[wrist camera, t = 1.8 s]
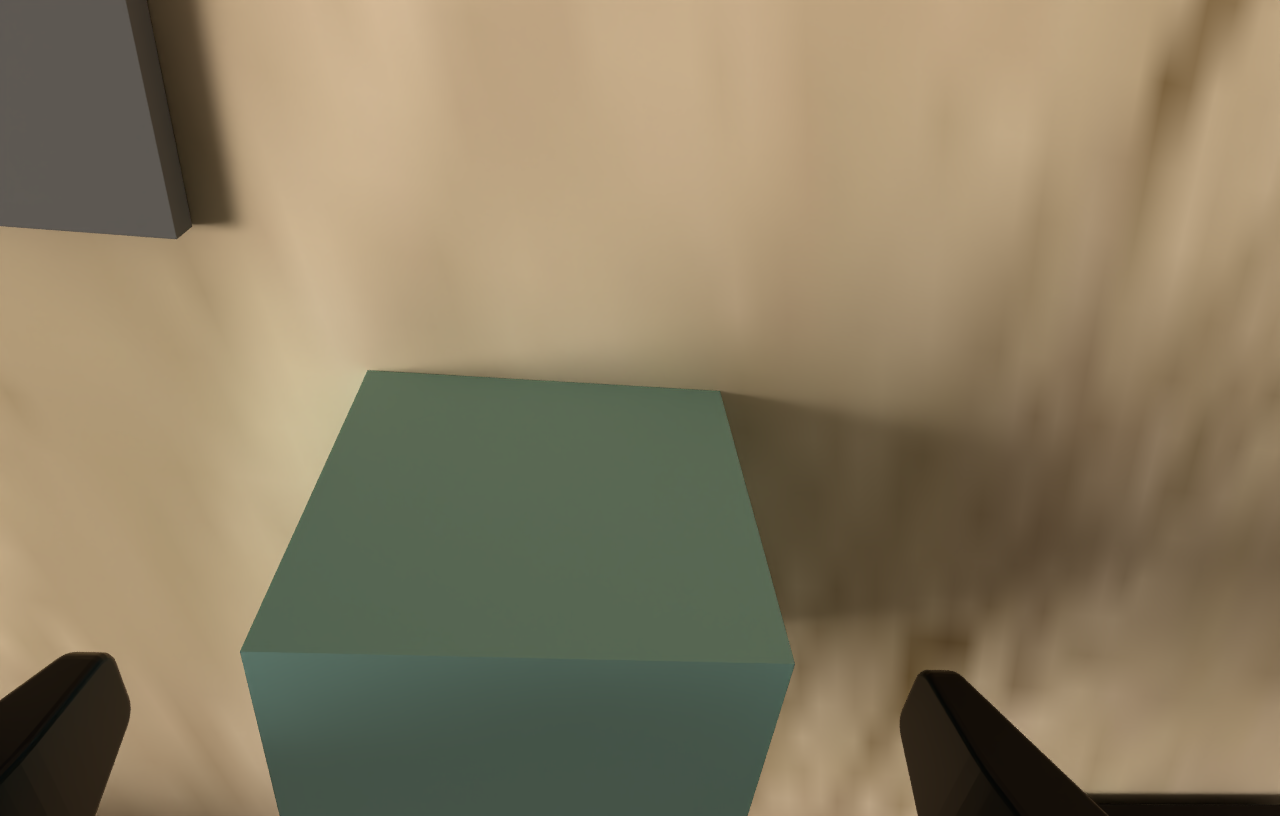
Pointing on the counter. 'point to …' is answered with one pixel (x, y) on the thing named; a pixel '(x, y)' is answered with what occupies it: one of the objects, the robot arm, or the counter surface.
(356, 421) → the teal cube
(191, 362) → the counter surface
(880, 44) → the counter surface
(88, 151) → the mat
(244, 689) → the counter surface
